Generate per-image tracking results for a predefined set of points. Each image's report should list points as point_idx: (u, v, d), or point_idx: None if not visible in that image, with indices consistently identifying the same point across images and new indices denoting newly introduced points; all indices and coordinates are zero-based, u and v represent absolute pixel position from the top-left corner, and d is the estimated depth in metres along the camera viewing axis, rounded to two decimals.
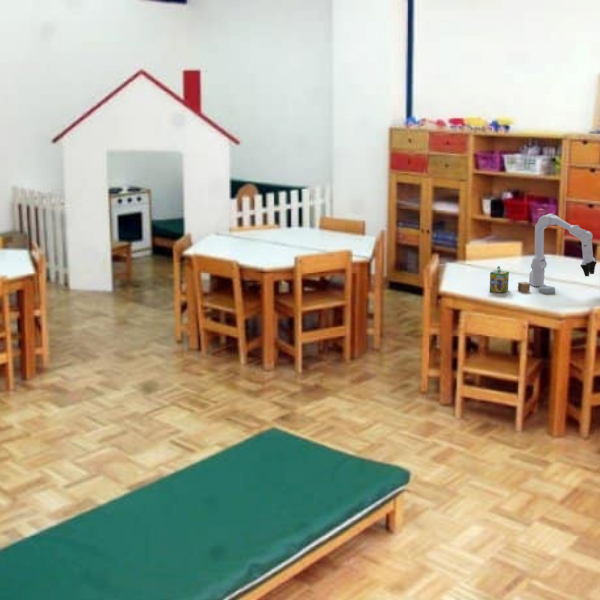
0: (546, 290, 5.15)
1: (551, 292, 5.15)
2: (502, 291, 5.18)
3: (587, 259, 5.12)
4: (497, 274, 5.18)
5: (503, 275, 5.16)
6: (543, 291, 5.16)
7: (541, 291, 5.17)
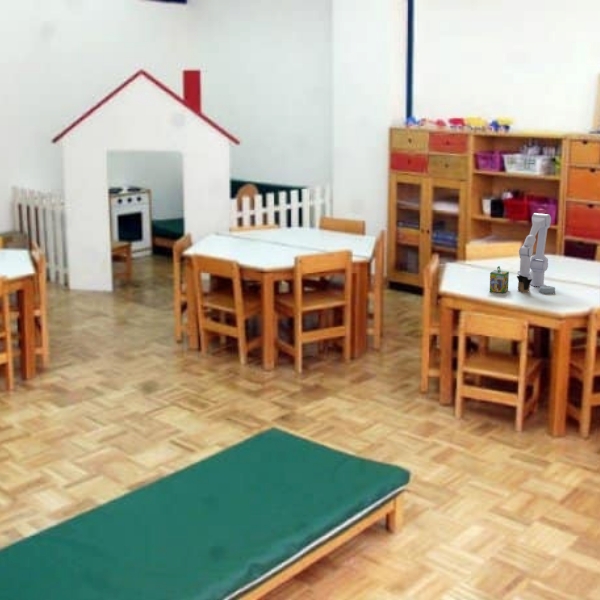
0: (546, 290, 5.15)
1: (551, 292, 5.15)
2: (502, 291, 5.18)
3: None
4: (497, 274, 5.18)
5: (503, 275, 5.16)
6: (543, 291, 5.16)
7: (541, 291, 5.17)
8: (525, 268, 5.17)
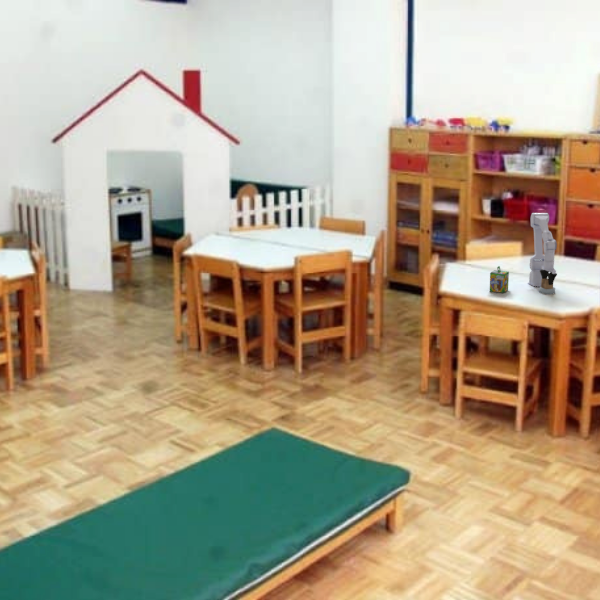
0: (547, 290, 5.15)
1: (552, 292, 5.16)
2: (502, 291, 5.18)
3: None
4: (497, 274, 5.18)
5: (503, 275, 5.16)
6: (544, 291, 5.16)
7: (542, 291, 5.17)
8: (549, 262, 5.12)
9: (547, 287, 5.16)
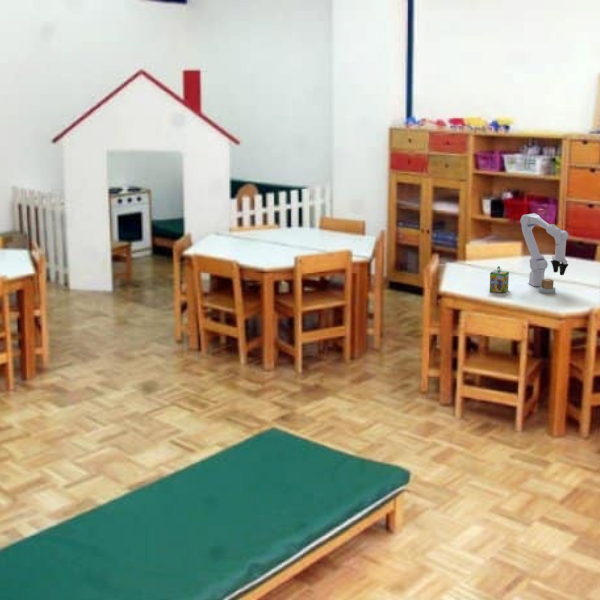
0: (547, 290, 5.15)
1: (552, 292, 5.16)
2: (502, 291, 5.18)
3: None
4: (497, 274, 5.18)
5: (503, 275, 5.16)
6: (544, 291, 5.16)
7: (542, 291, 5.17)
8: (560, 253, 5.17)
9: (547, 287, 5.16)
